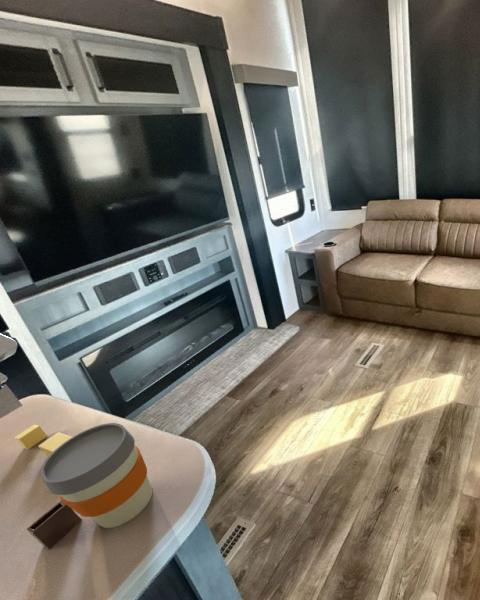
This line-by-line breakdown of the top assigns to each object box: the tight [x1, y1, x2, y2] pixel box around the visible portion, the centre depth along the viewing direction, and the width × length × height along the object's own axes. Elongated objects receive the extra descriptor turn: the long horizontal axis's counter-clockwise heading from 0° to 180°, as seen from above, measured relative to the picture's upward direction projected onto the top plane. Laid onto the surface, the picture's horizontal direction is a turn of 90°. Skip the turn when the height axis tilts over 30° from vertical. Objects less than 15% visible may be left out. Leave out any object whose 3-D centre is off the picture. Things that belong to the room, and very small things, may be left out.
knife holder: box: [25, 500, 82, 550], centre depth 64 cm, size 5×2×5 cm, turn 159°
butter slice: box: [14, 424, 48, 450], centre depth 86 cm, size 2×4×4 cm, turn 158°
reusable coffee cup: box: [39, 422, 153, 529], centre depth 65 cm, size 13×12×15 cm
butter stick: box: [38, 432, 73, 458], centre depth 81 cm, size 7×4×4 cm, turn 68°
